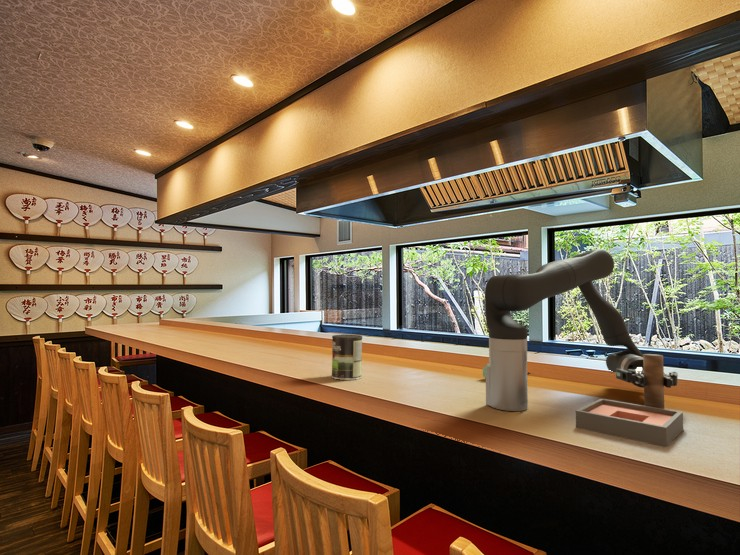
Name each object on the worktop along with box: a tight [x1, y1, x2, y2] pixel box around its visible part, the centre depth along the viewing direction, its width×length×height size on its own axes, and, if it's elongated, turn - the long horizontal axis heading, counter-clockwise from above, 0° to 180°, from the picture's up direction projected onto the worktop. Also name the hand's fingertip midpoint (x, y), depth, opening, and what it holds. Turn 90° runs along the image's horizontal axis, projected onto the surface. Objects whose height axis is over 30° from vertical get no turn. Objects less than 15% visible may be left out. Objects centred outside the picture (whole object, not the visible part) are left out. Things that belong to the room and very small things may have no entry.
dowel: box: [642, 353, 665, 409], centre depth 100 cm, size 4×4×14 cm
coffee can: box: [331, 334, 363, 381], centre depth 142 cm, size 10×10×14 cm
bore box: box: [575, 398, 684, 448], centre depth 89 cm, size 16×16×4 cm
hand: (656, 382), depth 98 cm, fingers open, 4 cm apart
